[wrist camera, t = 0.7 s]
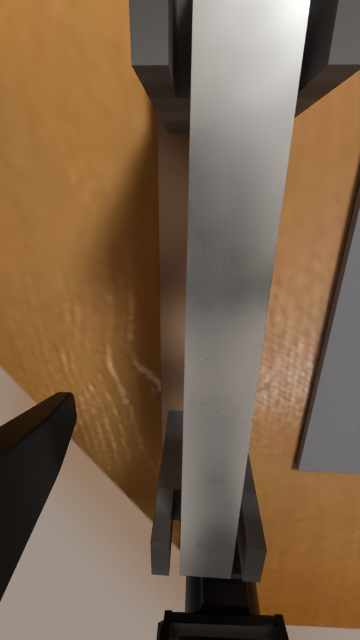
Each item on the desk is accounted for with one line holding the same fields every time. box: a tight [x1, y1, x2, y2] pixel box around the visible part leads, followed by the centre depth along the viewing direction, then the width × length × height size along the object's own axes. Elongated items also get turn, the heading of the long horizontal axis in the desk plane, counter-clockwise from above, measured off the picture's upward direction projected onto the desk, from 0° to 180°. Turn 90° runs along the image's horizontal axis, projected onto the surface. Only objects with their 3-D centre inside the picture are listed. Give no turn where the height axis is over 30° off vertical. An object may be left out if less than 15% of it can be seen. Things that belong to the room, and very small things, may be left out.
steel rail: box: [180, 0, 310, 579], centre depth 11 cm, size 22×2×2 cm, turn 179°
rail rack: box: [129, 0, 360, 582], centre depth 14 cm, size 26×6×10 cm, turn 179°
